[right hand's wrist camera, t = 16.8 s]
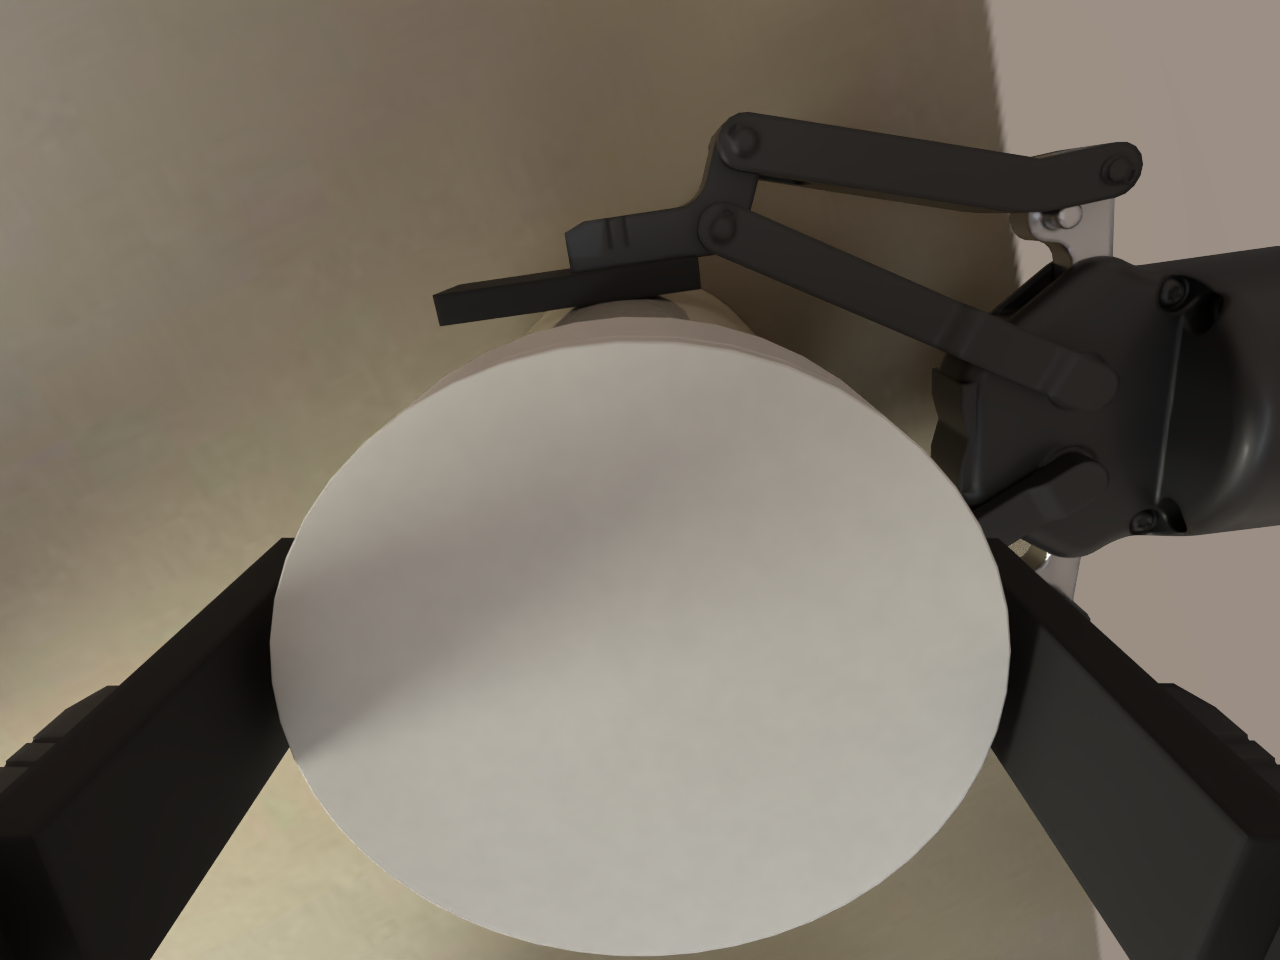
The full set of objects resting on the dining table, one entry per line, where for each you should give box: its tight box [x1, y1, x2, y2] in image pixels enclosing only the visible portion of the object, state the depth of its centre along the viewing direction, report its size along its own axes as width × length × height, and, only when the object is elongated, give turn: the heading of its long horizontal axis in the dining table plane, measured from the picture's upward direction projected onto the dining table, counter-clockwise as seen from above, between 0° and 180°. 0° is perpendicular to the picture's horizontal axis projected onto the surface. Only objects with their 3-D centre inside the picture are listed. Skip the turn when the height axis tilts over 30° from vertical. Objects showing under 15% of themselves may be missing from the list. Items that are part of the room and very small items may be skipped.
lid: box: [270, 317, 1011, 956], centre depth 11 cm, size 11×11×2 cm
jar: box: [523, 289, 756, 336], centre depth 18 cm, size 10×10×16 cm
